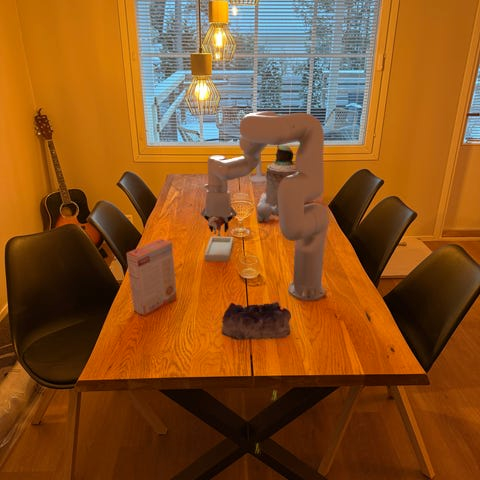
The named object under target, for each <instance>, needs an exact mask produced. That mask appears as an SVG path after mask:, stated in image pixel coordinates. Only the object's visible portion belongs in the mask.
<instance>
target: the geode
mask: <svg viewBox="0 0 480 480" xmlns="http://www.w3.org/2000/svg"><path fill="white" fill-rule="evenodd" d="M221 319H222V320H221V323H222V327H221V334H222V335H223V336H225V337H228V338H231V339H232V340H261V339H263V340H268V339H280V338H287V336H289V335H290V333H291V325H290V320H291V319H292V313H291V311H290V310H288V309H287V308H284V307H283V308H282V309H281V306H280V303H279V302H278V301H275V302H271V303H264V304H251V305H250V304H247V306H245V307H244V306H243V305H242V304H235V303H234V302H231V303H230V304H229V306H228V307H227V309H226V310H225V311H224V314H223V316H222V318H221Z"/></svg>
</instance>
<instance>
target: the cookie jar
mask: <svg viewBox="0 0 480 480" xmlns="http://www.w3.org/2000/svg"><path fill="white" fill-rule="evenodd" d="M276 147H277V150H276V153H275V160H274V161H273V162H272V163H271V164H268V165H267V166H266V169H267V170H266V175H265V176H266V179H267V182H266V185H265V192H262V194H261V196H260V199H259V202H258V204H257V207H258V206H259V205H260V204H262V203H267V204H269V205H270V206H271V207H275V205H277V207H278V197H277V192H278V187H279V184H280V182H281V181H282V180H283V179H284V178H285V177H287V176H289V175H292V174H295V172H296V162H293V159H294V152H293V150H292V149H291V147H290V146H288V145H276ZM304 205H306V203H304Z"/></svg>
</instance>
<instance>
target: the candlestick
mask: <svg viewBox="0 0 480 480" xmlns="http://www.w3.org/2000/svg"><path fill="white" fill-rule="evenodd" d="M255 169H256V172H255V175H252V176H250V177H249V178H248V181H249V182H251V183H255V184H260V183H261V184H262V183H263V184H264V183H267V179H266V175H263V173H262V172H263V171H262V157H261V158H260V162H259V164H258V165H257V167H256V168H255Z"/></svg>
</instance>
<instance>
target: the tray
mask: <svg viewBox="0 0 480 480" xmlns="http://www.w3.org/2000/svg"><path fill="white" fill-rule="evenodd" d="M233 245H234V237H233V236H210V239H209V241H208V244H207V247H206V250H205V253H204V261H205V262H229V261H230V257H231V255H232V250H233Z"/></svg>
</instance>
